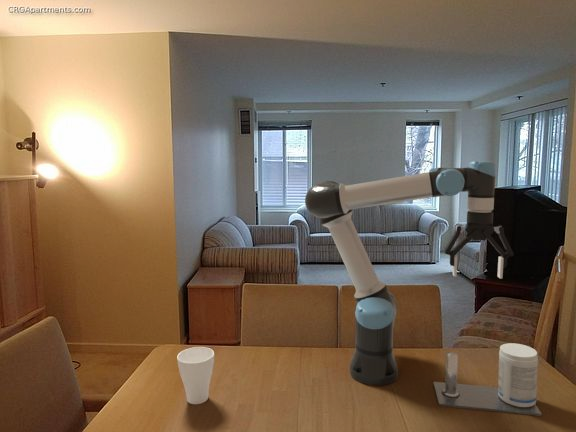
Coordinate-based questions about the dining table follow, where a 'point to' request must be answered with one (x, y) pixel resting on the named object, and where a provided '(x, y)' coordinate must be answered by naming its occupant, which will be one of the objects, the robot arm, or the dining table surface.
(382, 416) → the dining table surface
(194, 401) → the cup
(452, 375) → the steel pin
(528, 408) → the grey flat rectangular plate
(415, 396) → the dining table surface
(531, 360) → the supplement tub
